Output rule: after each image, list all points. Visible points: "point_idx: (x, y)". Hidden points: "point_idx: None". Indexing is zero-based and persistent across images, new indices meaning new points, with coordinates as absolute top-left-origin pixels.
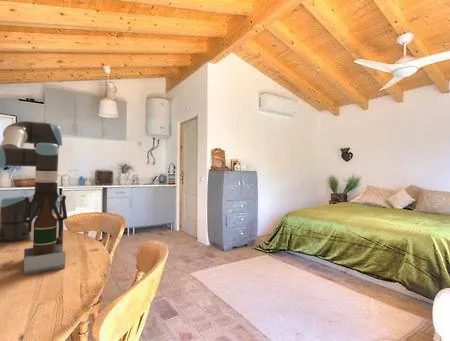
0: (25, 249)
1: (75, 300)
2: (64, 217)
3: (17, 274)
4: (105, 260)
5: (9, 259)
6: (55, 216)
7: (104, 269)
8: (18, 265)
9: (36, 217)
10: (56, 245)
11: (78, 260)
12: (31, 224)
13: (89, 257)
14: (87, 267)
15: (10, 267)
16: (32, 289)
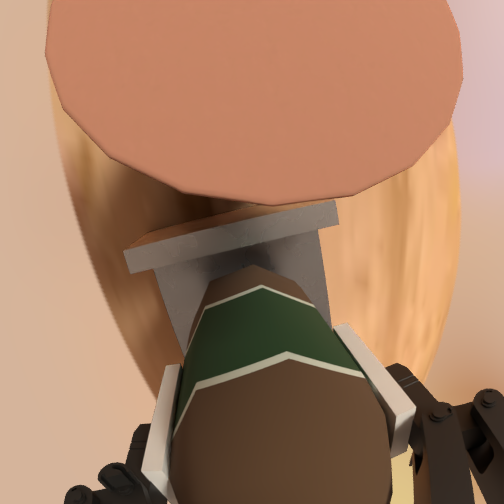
0: (135, 270)
1: None
2: (466, 450)
3: (165, 347)
4: (451, 282)
5: (71, 128)
6: (384, 43)
7: (427, 366)
8: (128, 234)
9: (60, 65)
10: (307, 230)
11: (377, 249)
12: (166, 492)
13: (414, 221)
14: (395, 341)
15: (106, 252)
16: None
